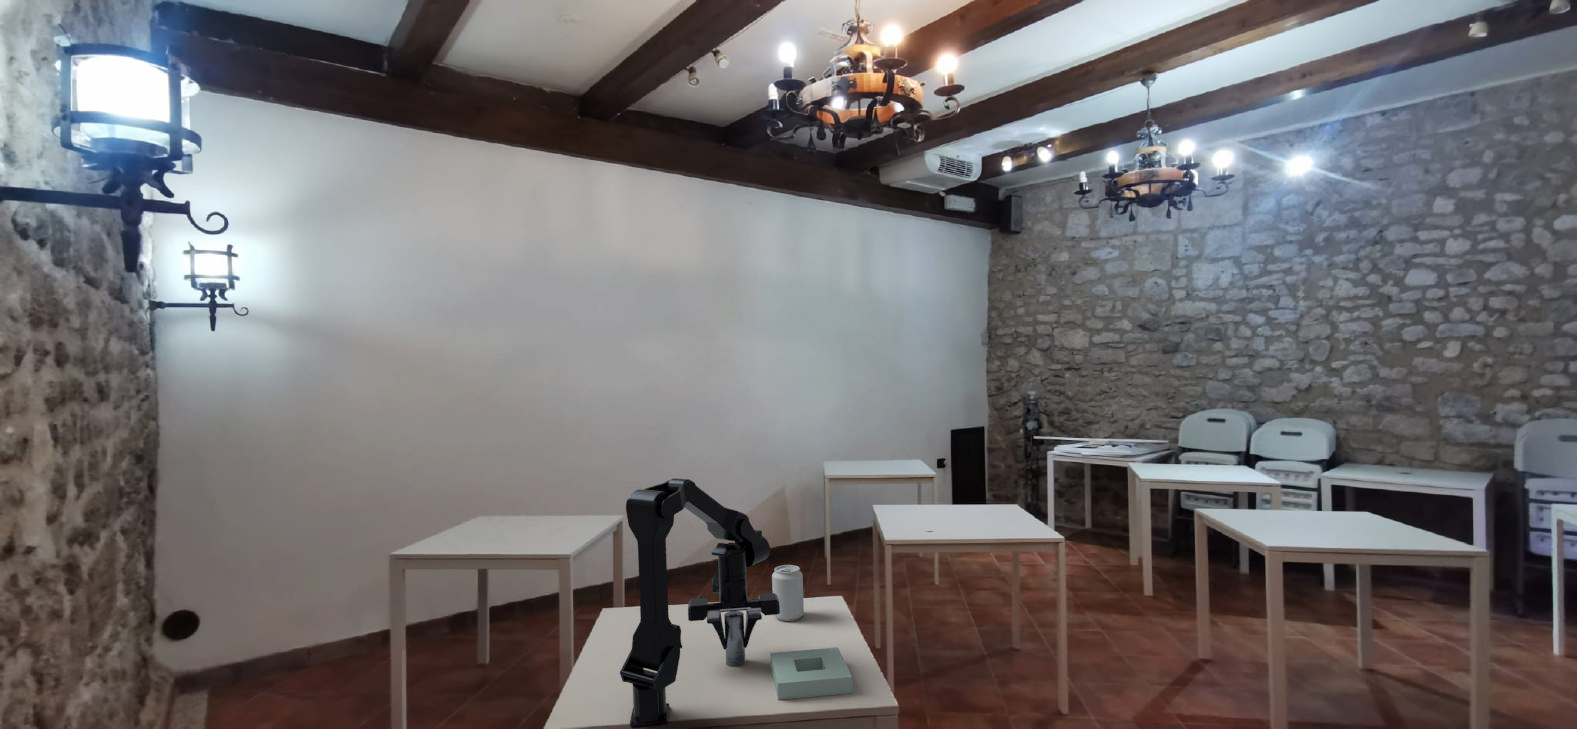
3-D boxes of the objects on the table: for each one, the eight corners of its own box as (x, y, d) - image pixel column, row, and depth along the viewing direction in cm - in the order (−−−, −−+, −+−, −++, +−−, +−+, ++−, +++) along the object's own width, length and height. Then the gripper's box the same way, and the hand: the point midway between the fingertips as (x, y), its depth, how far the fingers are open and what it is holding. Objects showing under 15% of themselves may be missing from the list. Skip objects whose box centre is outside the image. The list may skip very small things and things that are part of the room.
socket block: (852, 692, 132) (852, 676, 132) (778, 699, 131) (777, 683, 131) (838, 661, 146) (838, 647, 146) (770, 667, 145) (770, 652, 145)
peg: (745, 665, 146) (744, 616, 146) (726, 667, 145) (724, 618, 145) (744, 657, 150) (743, 610, 150) (725, 659, 149) (724, 611, 149)
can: (767, 619, 172) (766, 570, 172) (782, 609, 178) (780, 562, 178) (795, 624, 168) (793, 573, 168) (809, 613, 175) (807, 565, 175)
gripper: (773, 559, 157) (775, 629, 157) (688, 565, 155) (690, 636, 155) (778, 574, 146) (781, 650, 146) (686, 580, 143) (689, 657, 144)
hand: (735, 647), depth 148 cm, fingers closed on peg, 4 cm apart
